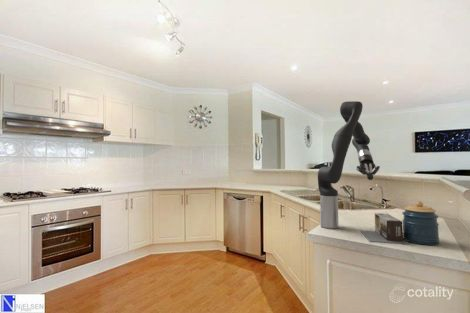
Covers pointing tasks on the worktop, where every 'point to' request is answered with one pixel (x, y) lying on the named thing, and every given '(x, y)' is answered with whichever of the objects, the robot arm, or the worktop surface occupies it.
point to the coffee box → (388, 227)
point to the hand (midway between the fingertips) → (370, 179)
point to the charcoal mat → (379, 237)
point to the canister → (420, 224)
